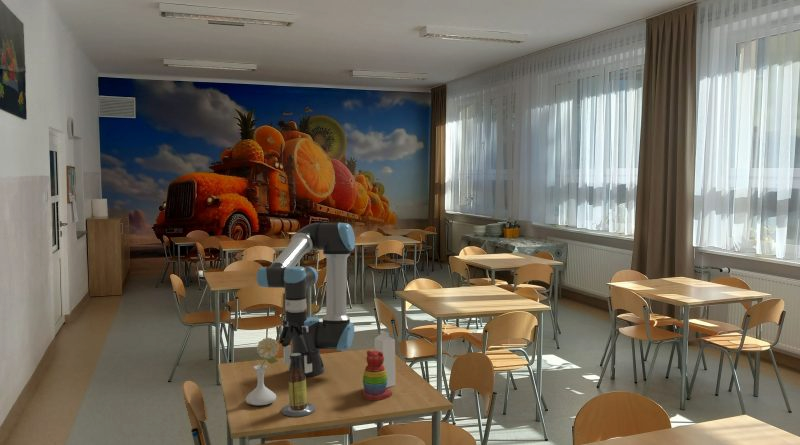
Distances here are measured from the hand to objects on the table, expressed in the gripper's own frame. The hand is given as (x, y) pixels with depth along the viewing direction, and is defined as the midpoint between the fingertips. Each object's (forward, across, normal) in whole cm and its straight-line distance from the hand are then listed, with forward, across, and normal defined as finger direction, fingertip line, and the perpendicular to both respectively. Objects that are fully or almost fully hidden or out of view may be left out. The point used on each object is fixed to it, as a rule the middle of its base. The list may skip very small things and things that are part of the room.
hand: (297, 367), depth 231 cm
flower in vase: (+16, -16, -6) cm, 23 cm away
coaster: (+16, 0, -1) cm, 16 cm away
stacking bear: (+16, +8, +29) cm, 35 cm away
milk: (+17, +1, +40) cm, 44 cm away
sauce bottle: (+15, 0, 0) cm, 15 cm away
